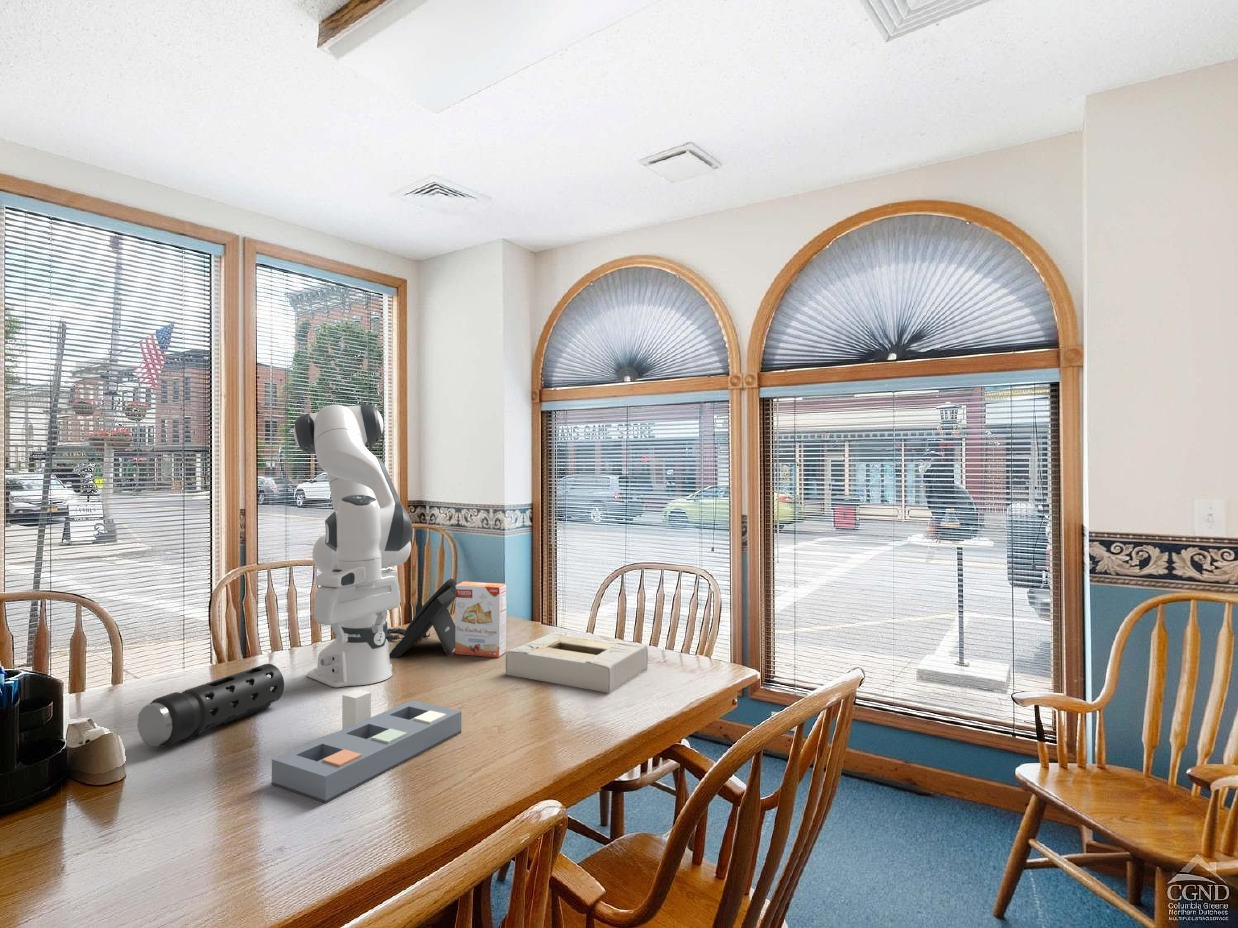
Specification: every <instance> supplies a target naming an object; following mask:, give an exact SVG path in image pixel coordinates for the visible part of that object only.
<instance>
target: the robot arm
mask: <svg viewBox="0 0 1238 928" xmlns="http://www.w3.org/2000/svg"><path fill="white" fill-rule="evenodd" d="M383 432H384V420H383V416H382V415H381V413H380V411H379V410H378V409H377V407H376V406H375V405H372V404H364V403H363V404H360V405H350V406H349V405H348V406H346V405H342V404H330V405H327V406H325V407H322V408H321V409H320V410H319V411H317V412H313V413H309V412H307V413H305V414H302V415H300V416H298V417H297V418H296V419H295V421H294V426H293V433H292V434H293V438H294V441H295V442H296V444H297V446H298V447H299V449H300V450H301V451H302V452H304V453H305V454H315V457H316V460H317V462H318V465H319V467H320V468H321V469H322V470H323V471H324V473H326V474H327V478H328V479H327V480H328V485H329V491H330V496H331V497H330V498H331V502H332V507H333V508H332V509H333V512H332V513H331V514H330V515H329V516H328V517H327V518H326V519H325V520H324V524H325V526H324V527H325V535H322V536H319V538H318V539H317V540H316V541H315V544H314V545H313V549H312V554H311V555H312V560H313V563H314V565H315V567H316V568H317V569H318V571H320V573H319V574H317V576H315V584H316V585H317V586H319V587H318V588H317V589H316V591H315V593H314V600H313V601H314V604H313V607H314V608H313V615H314V616H313V617H314V621H316V623H317V624H318V625H322V626H323V625H324V626H330V627H331V629H332V631H333V633H334V634H335V639H333V641H332V642H331V643H329V644H328V645H327V646H326V647H324V648H323V649H322V650H321V651H320V652H319V653H318V657H317V665H316V666H317V667H315V668H312V669H310V670H309V671H308V672H307V677H308V678H310V679H313V680H316V681H318V682H320V683H323V684H325V685H328V686H330V687H332V688H341V687H343V688H344V687H351V686H352V687H353V686H364V685H372V684H375V683H379V682H382V681H385V680H387V679H389V678H391V677H392V676H393V671H392V670H393V664H392V663H391V657H389V654H390V650H389V641H388V638H386V637H387V635H388V634H389V633H388V629H389V626H388V621H387V619H386V618H387V616H388V611H390V610H394V609H397V608H399V606H400V604H401V592H400V590H401V588H400V583H399V580H398V571H397V570H396V569H394V567H397V566H400V565H402V564H404V563H406V562H407V560H408V559H409V557H410V556H411V551H412V543H411V540H412V537H413V523H412V519H411V517H410V515H409V513H408V511H407V509H406V508H405V507H404V505H403V503H402V502H401V499H400V496H399V495H398V492H397V490H396V488H395V485H394V483H393V481H392V478H391V476H390V474H389V472H388V470H387V468H386V466H385V464H384V462H383V460H382V458H380V457H379V456H377V455H375V454H373V453H372V452H371V451H372V450H373V446H374V445H376V444H378V442H379V441H380V440H381V438H382V436H383ZM367 445H368V446H369V449H368V448H367Z"/></svg>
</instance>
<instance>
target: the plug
mask: <svg viewBox="0 0 1238 928" xmlns="http://www.w3.org/2000/svg"><path fill="white" fill-rule="evenodd" d="M341 697H342V700H341V701H342V702H341V703H342V705H341V708H342V711H341V712H342V713H341V714H342V716H341V717H342V718H341V719H342V725H341V726H342V727H341V730H342V729H345V728H347V727H350V726H352V725H354V724H357V723H359V722H361V721H364V720H366V719H369V718H371V717H372V692H371V691H365V690H361V689H355V690H351V691H350V692H347V693H344V694H342V696H341Z"/></svg>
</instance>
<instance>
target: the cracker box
mask: <svg viewBox="0 0 1238 928" xmlns="http://www.w3.org/2000/svg"><path fill="white" fill-rule="evenodd" d="M454 621H455V622H454V624H455V649H454V654H455V655H464V656H474V657H475V656H477V657H488V658H500V657H501V656H503V655H505V654H506V652H507V584H506V583H499V582H497V583H496V582H481V581H480V582H479V581H462V582H459V583H457V585H456V598H455V620H454Z"/></svg>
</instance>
